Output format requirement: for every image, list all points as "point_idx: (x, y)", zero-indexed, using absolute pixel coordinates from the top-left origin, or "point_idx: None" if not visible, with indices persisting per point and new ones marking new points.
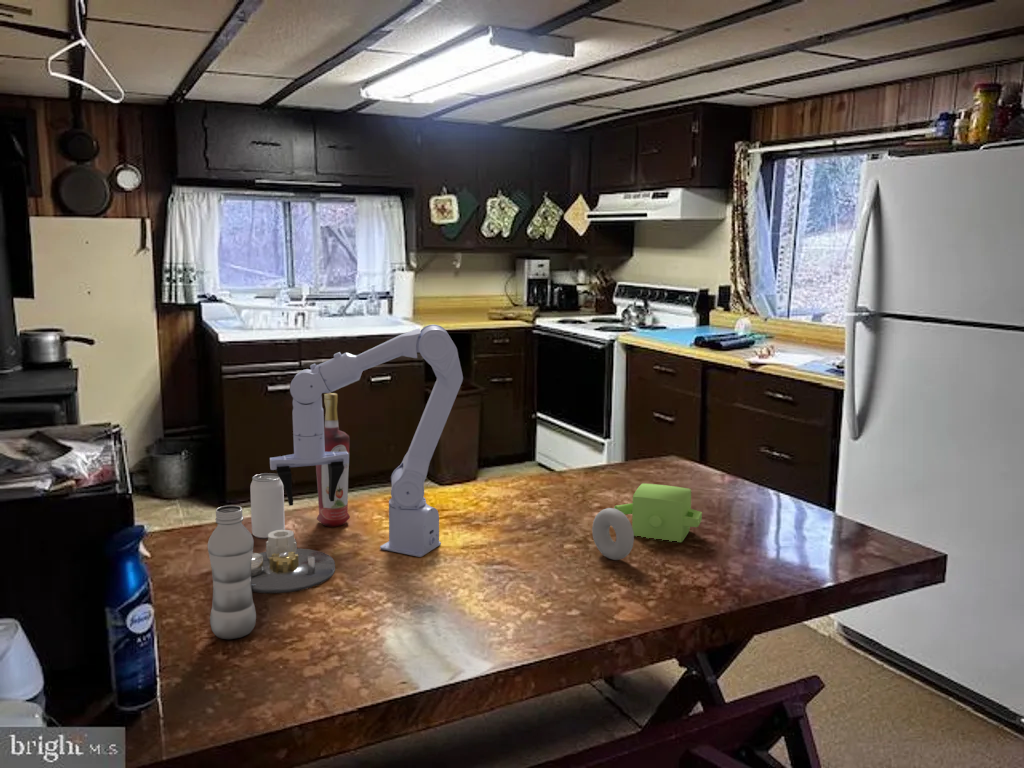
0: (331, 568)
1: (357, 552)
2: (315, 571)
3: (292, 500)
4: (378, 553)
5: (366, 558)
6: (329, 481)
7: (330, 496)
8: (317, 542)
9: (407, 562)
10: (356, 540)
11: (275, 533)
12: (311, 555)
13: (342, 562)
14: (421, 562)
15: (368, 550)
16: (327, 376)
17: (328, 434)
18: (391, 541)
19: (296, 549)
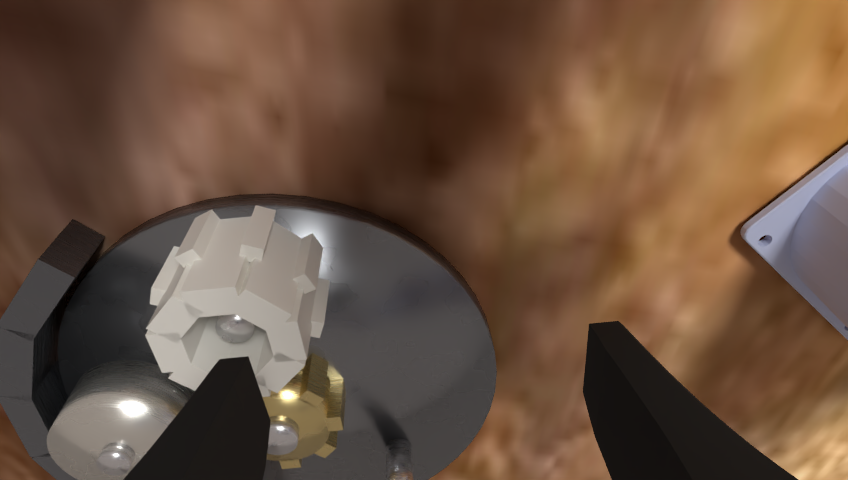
0: (475, 423)
1: (623, 237)
2: (413, 437)
3: (259, 472)
4: (710, 264)
5: (640, 304)
6: (663, 474)
7: (596, 437)
8: (441, 56)
9: (778, 361)
10: (671, 72)
11: (190, 326)
12: (401, 307)
13: (531, 325)
14: (826, 368)
15: (681, 223)
16: None
17: None
18: (809, 271)
19: (326, 299)
